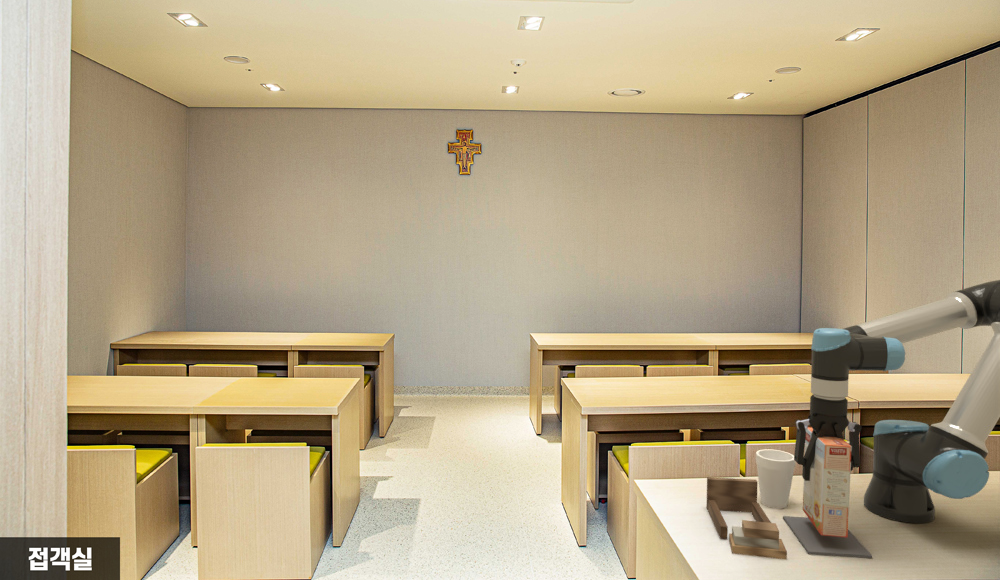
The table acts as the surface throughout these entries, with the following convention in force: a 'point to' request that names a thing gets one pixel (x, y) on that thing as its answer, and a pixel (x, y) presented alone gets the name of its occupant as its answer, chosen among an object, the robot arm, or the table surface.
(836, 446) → the cracker box
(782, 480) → the foam cup
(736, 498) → the rack
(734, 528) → the offcut stack
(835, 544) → the mat
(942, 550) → the table surface
